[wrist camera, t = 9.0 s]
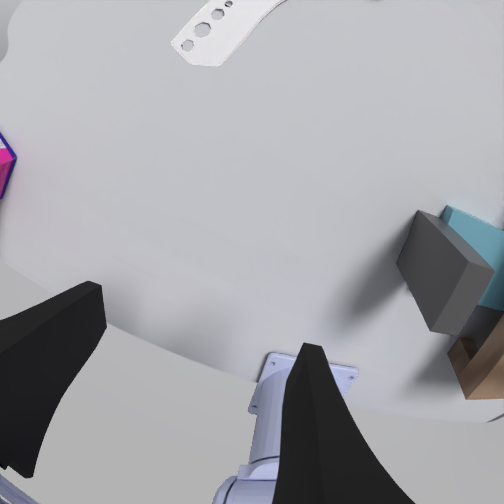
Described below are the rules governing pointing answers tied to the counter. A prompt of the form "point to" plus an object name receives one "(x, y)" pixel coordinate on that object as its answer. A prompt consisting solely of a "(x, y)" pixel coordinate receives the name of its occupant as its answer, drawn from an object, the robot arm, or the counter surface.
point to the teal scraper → (453, 267)
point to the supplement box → (5, 163)
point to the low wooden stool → (480, 365)
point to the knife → (221, 29)
